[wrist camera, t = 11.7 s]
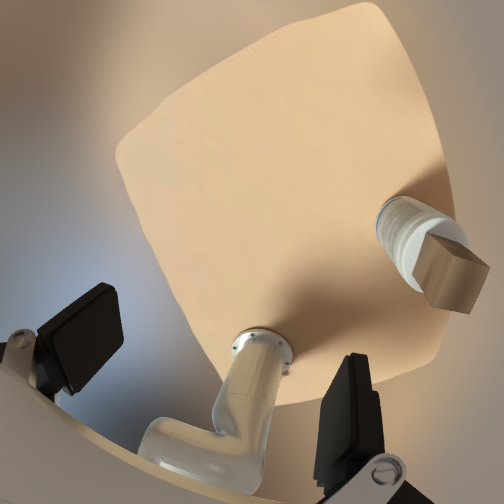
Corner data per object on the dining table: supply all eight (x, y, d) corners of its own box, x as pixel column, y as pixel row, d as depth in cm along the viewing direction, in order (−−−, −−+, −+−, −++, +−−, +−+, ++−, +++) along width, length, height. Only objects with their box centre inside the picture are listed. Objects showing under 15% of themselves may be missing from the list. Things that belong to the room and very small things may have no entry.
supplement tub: (374, 254, 41) (396, 300, 28) (372, 196, 38) (399, 219, 25) (426, 249, 38) (464, 291, 25) (427, 193, 35) (472, 214, 22)
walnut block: (459, 242, 23) (490, 267, 17) (445, 282, 25) (469, 314, 19) (426, 231, 24) (453, 255, 18) (411, 274, 26) (432, 306, 20)
